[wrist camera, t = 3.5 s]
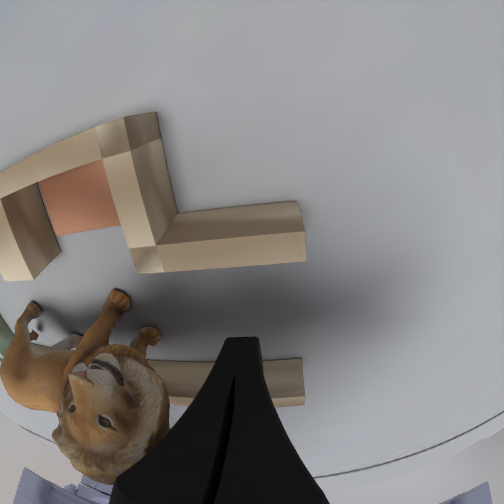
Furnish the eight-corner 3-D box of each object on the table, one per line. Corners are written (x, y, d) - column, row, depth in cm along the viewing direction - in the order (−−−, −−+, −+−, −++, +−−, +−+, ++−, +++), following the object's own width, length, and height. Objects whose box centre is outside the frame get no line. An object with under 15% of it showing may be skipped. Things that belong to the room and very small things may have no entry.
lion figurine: (169, 241, 11) (63, 457, 3) (223, 330, 13) (195, 511, 6) (17, 305, 14) (-43, 393, 7) (60, 356, 17) (16, 445, 9)
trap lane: (301, 368, 15) (304, 409, 12) (17, 346, 17) (4, 367, 15) (285, 90, 8) (295, 85, 6) (-52, 211, 10) (-74, 228, 8)
